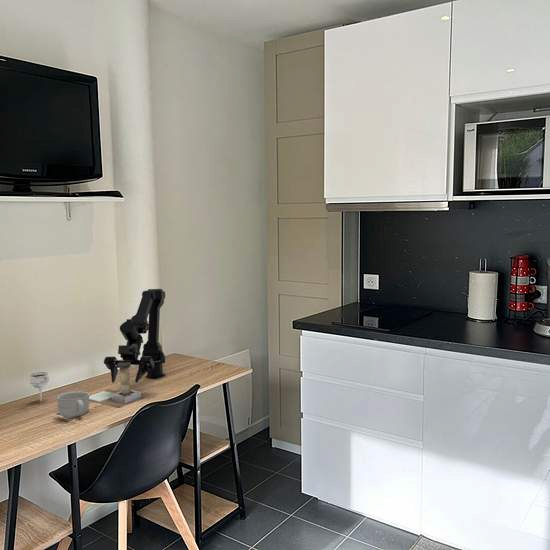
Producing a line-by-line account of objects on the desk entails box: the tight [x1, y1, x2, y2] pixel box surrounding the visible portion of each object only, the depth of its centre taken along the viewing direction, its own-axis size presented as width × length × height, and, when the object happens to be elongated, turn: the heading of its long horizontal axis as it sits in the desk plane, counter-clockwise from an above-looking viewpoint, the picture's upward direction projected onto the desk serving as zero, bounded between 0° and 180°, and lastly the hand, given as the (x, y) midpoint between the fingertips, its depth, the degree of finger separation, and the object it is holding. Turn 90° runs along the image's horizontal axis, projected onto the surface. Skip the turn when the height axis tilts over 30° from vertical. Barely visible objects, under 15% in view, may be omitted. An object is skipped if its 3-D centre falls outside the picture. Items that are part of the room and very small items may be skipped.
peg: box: [117, 361, 132, 396], centre depth 210 cm, size 5×5×14 cm
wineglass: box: [29, 371, 50, 403], centre depth 211 cm, size 7×7×12 cm
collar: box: [111, 389, 142, 404], centre depth 211 cm, size 8×8×2 cm
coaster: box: [89, 390, 114, 404], centre depth 214 cm, size 9×9×1 cm
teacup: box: [56, 391, 90, 420], centre depth 196 cm, size 14×11×8 cm
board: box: [89, 388, 146, 409], centre depth 213 cm, size 13×22×1 cm, turn 56°
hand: (124, 382), depth 209 cm, fingers open, 9 cm apart
